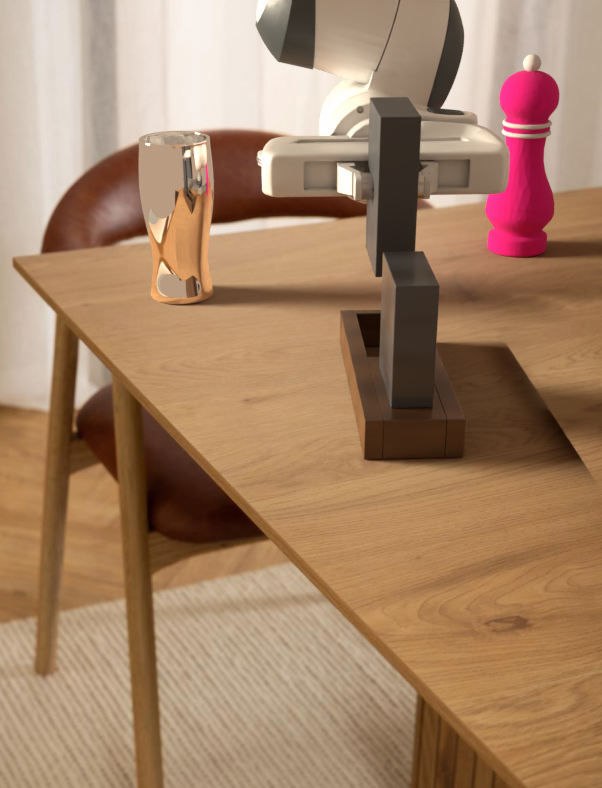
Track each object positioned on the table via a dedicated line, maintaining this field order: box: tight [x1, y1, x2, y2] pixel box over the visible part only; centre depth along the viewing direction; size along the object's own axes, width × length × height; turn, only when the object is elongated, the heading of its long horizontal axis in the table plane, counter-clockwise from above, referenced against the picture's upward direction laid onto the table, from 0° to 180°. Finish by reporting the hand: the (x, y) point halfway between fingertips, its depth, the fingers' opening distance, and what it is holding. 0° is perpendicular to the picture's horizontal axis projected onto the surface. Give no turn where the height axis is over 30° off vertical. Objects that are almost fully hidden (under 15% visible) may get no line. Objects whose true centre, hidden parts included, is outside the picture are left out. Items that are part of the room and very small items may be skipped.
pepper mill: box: [484, 53, 560, 258], centre depth 123 cm, size 7×7×20 cm
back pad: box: [365, 97, 422, 278], centre depth 92 cm, size 8×3×12 cm, turn 2°
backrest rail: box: [339, 250, 466, 460], centre depth 91 cm, size 23×7×12 cm, turn 2°
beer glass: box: [138, 130, 215, 305], centre depth 112 cm, size 7×7×15 cm
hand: (393, 189), depth 91 cm, fingers closed on back pad, 3 cm apart
